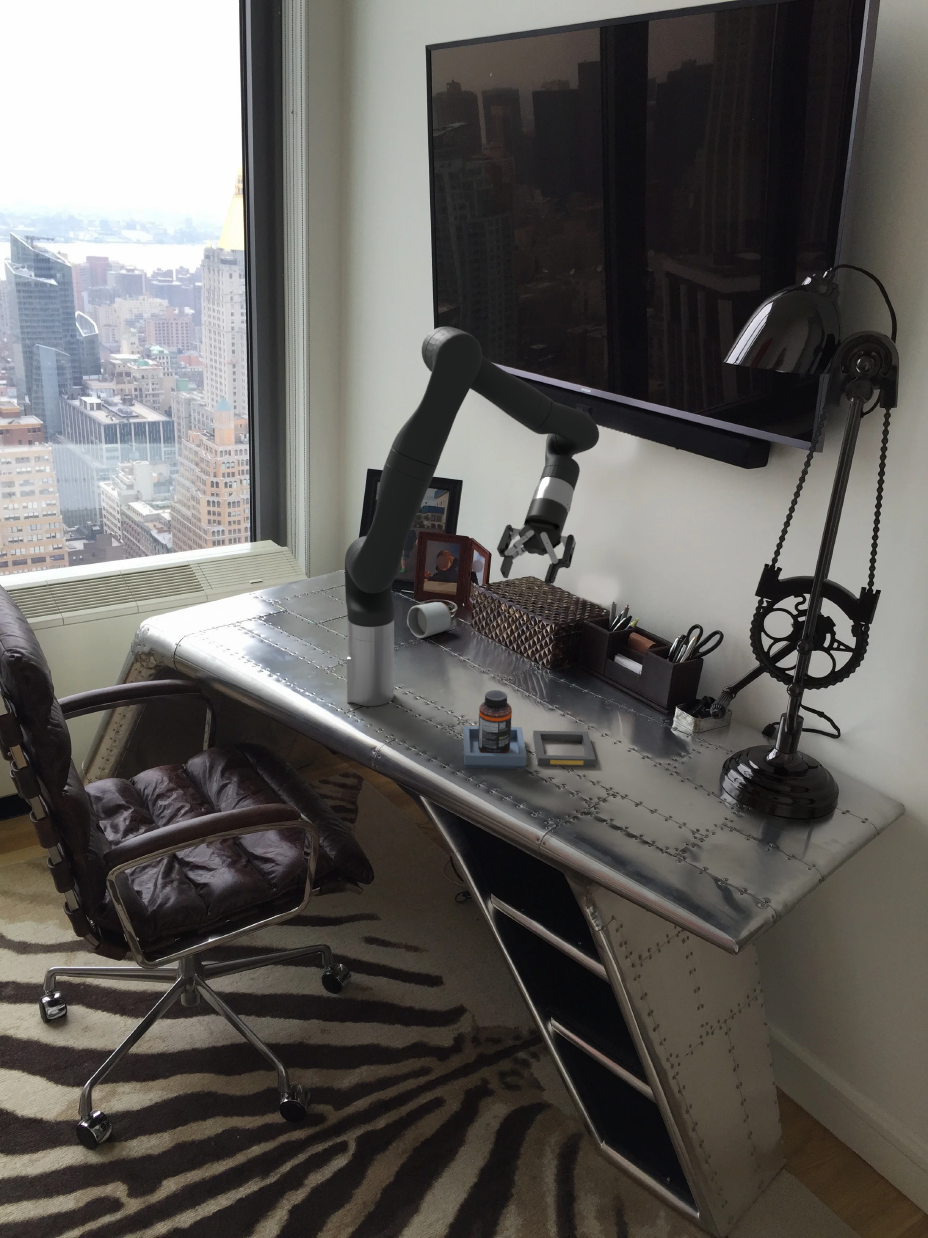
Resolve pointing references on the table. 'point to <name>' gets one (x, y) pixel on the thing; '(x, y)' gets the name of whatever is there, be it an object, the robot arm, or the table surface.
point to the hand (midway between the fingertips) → (525, 580)
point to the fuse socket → (563, 759)
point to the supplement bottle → (494, 723)
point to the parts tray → (494, 760)
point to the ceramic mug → (428, 619)
